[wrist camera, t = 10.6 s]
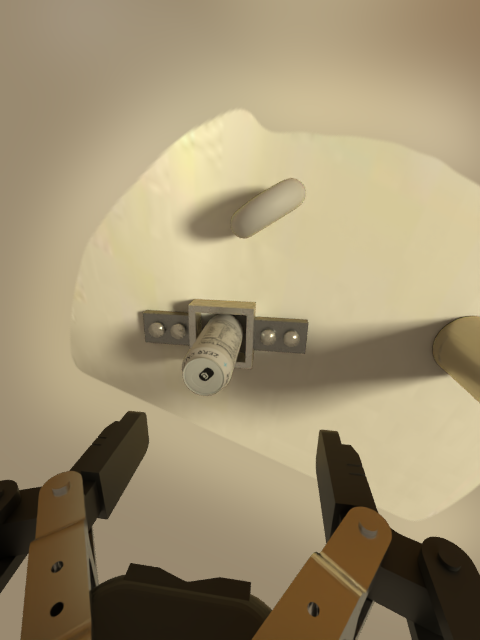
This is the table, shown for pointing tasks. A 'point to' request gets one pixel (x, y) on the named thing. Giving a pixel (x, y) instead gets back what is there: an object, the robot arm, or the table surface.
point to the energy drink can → (213, 355)
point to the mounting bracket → (259, 329)
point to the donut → (268, 207)
